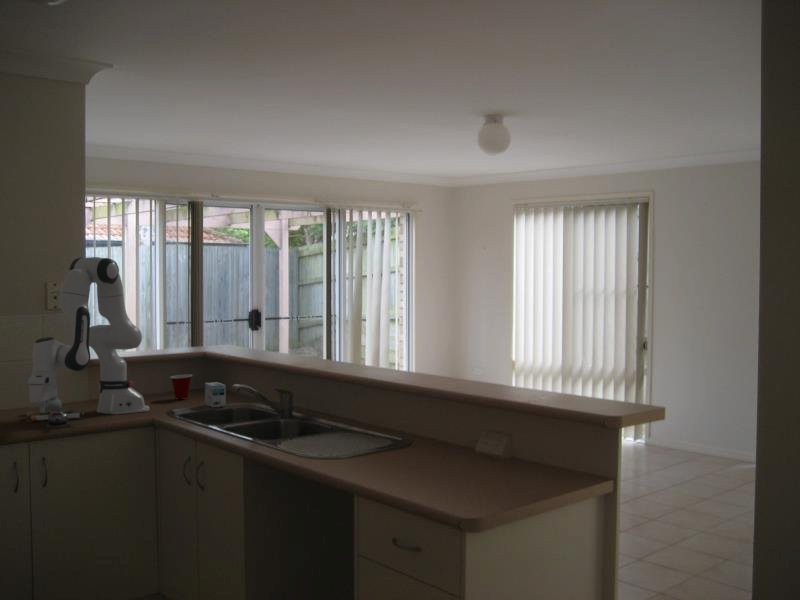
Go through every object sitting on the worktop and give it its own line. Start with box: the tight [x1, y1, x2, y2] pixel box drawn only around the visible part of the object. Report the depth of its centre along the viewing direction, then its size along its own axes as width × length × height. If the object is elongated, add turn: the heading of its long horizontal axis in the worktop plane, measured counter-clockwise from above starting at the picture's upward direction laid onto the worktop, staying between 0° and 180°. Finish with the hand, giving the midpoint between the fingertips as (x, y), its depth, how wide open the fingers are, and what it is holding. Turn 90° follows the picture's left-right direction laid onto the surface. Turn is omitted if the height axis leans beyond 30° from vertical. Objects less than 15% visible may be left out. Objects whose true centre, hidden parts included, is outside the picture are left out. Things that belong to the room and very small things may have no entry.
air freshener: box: [38, 389, 63, 411], centre depth 337 cm, size 11×8×10 cm
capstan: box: [31, 410, 85, 425], centre depth 308 cm, size 20×20×5 cm
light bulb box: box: [204, 381, 227, 406], centre depth 359 cm, size 11×7×11 cm, turn 34°
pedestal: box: [45, 421, 71, 429], centre depth 308 cm, size 9×9×1 cm
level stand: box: [25, 408, 85, 423], centre depth 324 cm, size 22×10×4 cm, turn 114°
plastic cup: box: [169, 373, 193, 399], centre depth 377 cm, size 11×11×12 cm
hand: (43, 411), depth 309 cm, fingers closed
